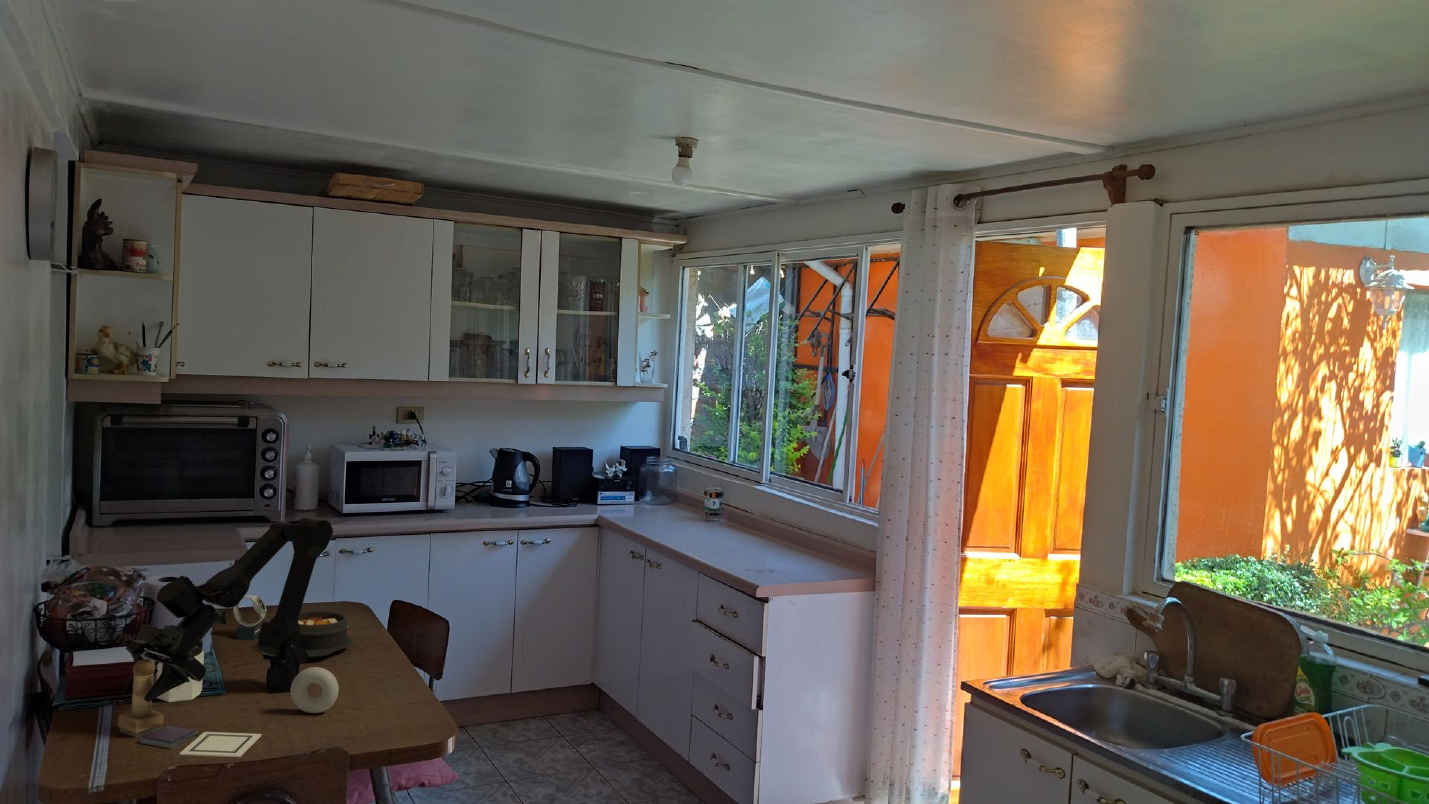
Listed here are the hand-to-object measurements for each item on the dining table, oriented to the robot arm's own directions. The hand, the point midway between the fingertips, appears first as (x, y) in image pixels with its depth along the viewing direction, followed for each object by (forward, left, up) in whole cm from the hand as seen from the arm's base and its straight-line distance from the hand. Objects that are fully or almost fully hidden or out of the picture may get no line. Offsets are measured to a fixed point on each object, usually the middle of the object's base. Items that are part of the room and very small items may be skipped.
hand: (135, 697), depth 193 cm
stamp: (-1, -1, -7) cm, 7 cm away
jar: (-7, -21, -7) cm, 23 cm away
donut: (-33, -3, -7) cm, 34 cm away
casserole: (-37, -50, -7) cm, 62 cm away
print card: (-16, +11, -7) cm, 20 cm away
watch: (-22, -65, -7) cm, 69 cm away
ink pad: (-6, +5, -7) cm, 11 cm away
